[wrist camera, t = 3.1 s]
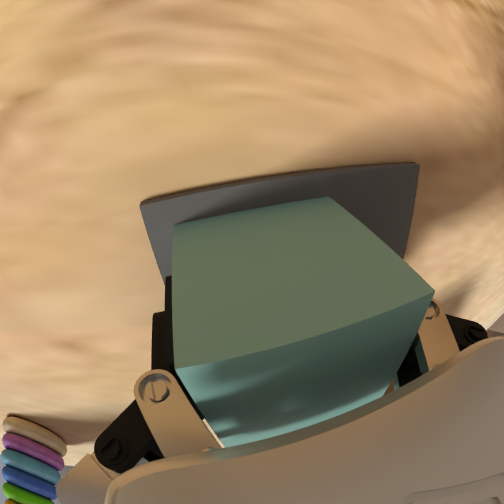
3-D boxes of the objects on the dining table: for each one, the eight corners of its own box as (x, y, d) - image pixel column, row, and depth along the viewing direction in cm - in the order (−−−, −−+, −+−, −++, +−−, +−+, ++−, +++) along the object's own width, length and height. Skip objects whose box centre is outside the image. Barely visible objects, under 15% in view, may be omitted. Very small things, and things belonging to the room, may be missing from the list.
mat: (140, 201, 9) (139, 206, 9) (413, 162, 11) (419, 164, 11) (228, 425, 20) (229, 429, 20) (356, 386, 22) (358, 389, 22)
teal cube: (173, 225, 10) (175, 368, 5) (328, 196, 10) (435, 290, 6) (205, 335, 13) (228, 451, 8) (321, 306, 14) (378, 402, 9)
